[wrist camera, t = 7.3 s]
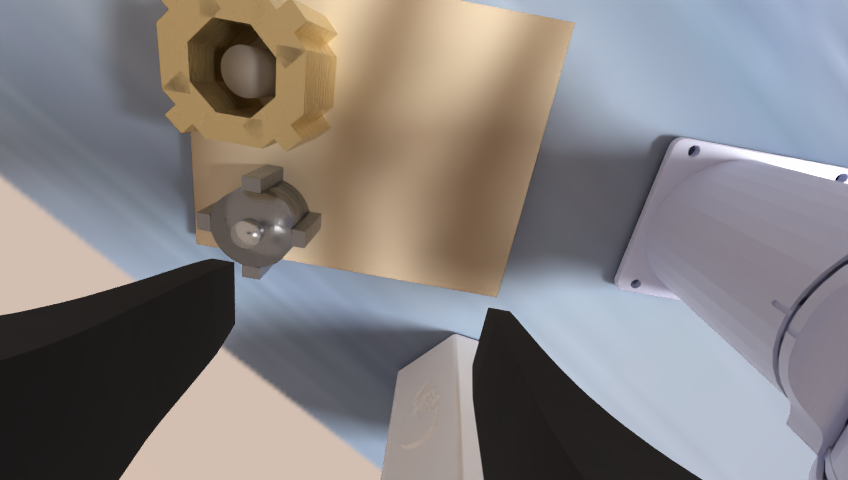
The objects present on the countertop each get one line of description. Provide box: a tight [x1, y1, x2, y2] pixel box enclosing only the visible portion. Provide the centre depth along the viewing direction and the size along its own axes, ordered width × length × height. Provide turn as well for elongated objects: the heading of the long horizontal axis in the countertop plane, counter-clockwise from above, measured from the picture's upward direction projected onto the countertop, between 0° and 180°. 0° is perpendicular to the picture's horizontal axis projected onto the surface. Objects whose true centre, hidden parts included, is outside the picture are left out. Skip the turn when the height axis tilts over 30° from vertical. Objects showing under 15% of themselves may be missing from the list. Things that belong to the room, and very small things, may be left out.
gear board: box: [191, 0, 575, 297], centre depth 17 cm, size 16×13×4 cm
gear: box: [196, 164, 322, 279], centre depth 18 cm, size 5×5×3 cm
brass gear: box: [156, 0, 338, 152], centre depth 15 cm, size 5×5×4 cm
